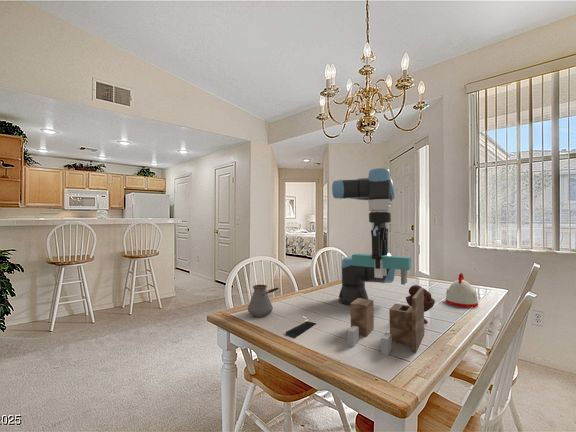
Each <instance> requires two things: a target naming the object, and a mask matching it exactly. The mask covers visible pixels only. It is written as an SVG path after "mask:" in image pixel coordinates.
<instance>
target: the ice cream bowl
mask: <svg viewBox="0 0 576 432" xmlns="http://www.w3.org/2000/svg"><path fill="white" fill-rule="evenodd" d="M420 288H423V286H421V285H418V284H413V285H411V286H410V287H409V289H408V294H409V295H407V296H405V301H406V303H407V305H408V306H412V297H413V296H414V295H415V294H416V293H417V291H418V290H419V289H420ZM435 303H436V300H435V299H434V298H433V297H432V294H431V293H430V291H428V290H427V289H426V288H424V313H425V312H428V311H429V310H431V309H432V308H433V307H434V305H435ZM428 323H429V321H428V320H427V319H425V318H424V325H427V324H428Z"/></svg>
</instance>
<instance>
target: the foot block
mask: <svg viewBox="0 0 576 432" xmlns="http://www.w3.org/2000/svg"><path fill="white" fill-rule="evenodd" d="M349 306H350V328H351V327H352V326H357V327H359V336H362V337H365V338H367V337H368V336H369V335H370V334H371V333H372V332H373V331H374V329H375V325H374V324H375V322H374V321H375V318H374V314H375V313H374V299H369V300H368V299H362V298H357V299H356V300H354V301H353V302H351V303H350V305H349Z"/></svg>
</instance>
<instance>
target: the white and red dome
mask: <svg viewBox="0 0 576 432" xmlns="http://www.w3.org/2000/svg"><path fill="white" fill-rule="evenodd" d="M478 299H479V298H478V293H477V290H475V289H474V287H473V286H472V285H471V284H470V283H469V282H468V281H466V280H465V276H464V275H463V273H462V272H460V273H459V274H458V279H457V280H454V281H453V282H452V283H451V284H450V286H449V287H447V288H446V293H445V302H446V304H448V305H451V306H454V307H459V308H468V309H470V308H471V307H473V308H477V307H478V306H479V300H478ZM476 306H477V307H476Z"/></svg>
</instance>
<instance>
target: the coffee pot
mask: <svg viewBox="0 0 576 432" xmlns="http://www.w3.org/2000/svg"><path fill="white" fill-rule="evenodd" d="M267 287H268V286H267V285H266V284H255V285H254V284H253V286H252V288H253V294H252V296H251V299H250V302H249V304H248V306H247V311H248V313H249V314H250V315H251V316H252V315H253V316H252V317H254V316H255V317H254V318H264V316H265V317H267V316H269V315H270V314H271V312H272V311H273V308H274V307H273V305H272V301H271V300H270V297H269V294H270V293H274V292H276V293H278V294H279V293H280V291H279V292H278V290H280V288H279V287H274V288H271V289H270V290H268V291H267Z"/></svg>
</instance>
